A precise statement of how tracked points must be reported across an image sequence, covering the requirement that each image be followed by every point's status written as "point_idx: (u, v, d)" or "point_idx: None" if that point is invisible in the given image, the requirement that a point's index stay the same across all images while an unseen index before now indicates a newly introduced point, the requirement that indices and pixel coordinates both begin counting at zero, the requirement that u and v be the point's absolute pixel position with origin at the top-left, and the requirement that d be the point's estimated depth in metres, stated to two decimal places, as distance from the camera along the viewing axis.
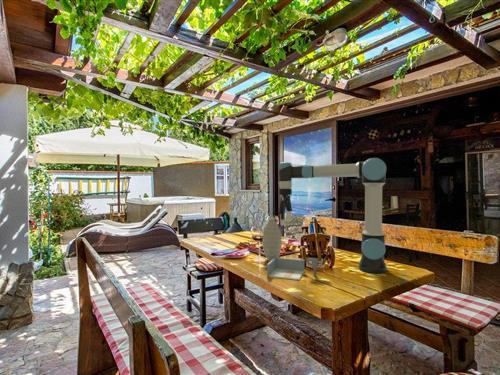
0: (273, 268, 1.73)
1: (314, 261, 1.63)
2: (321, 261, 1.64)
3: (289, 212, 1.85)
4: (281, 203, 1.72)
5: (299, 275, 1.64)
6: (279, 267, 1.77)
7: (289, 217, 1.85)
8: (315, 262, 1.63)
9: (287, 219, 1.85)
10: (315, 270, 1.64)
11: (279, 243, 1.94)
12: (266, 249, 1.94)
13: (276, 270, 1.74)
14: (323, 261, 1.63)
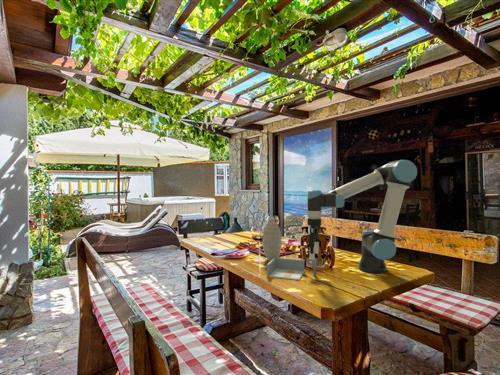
0: (273, 268, 1.73)
1: (314, 261, 1.63)
2: (321, 261, 1.64)
3: (317, 243, 1.70)
4: (311, 235, 1.57)
5: (299, 275, 1.64)
6: (279, 267, 1.77)
7: (317, 248, 1.70)
8: (315, 262, 1.63)
9: (314, 250, 1.70)
10: (315, 270, 1.64)
11: (279, 243, 1.94)
12: (266, 249, 1.94)
13: (276, 270, 1.74)
14: (323, 261, 1.63)
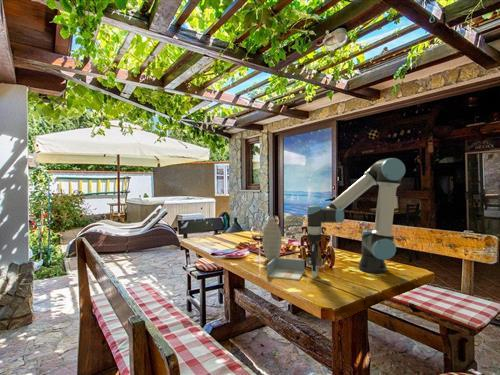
0: (273, 268, 1.73)
1: None
2: (321, 261, 1.64)
3: None
4: (312, 254, 1.59)
5: (299, 275, 1.64)
6: (279, 267, 1.77)
7: (316, 269, 1.66)
8: None
9: None
10: None
11: (279, 243, 1.94)
12: (266, 249, 1.94)
13: (276, 270, 1.74)
14: (323, 261, 1.63)
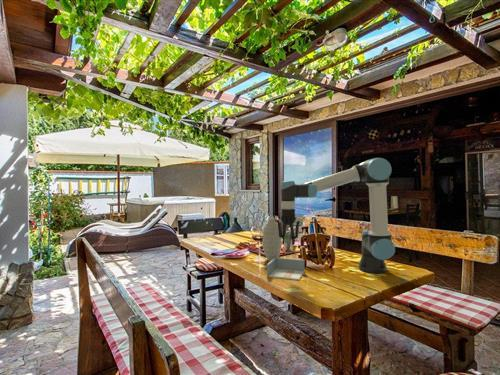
0: (273, 268, 1.73)
1: None
2: None
3: None
4: None
5: (299, 275, 1.64)
6: (279, 267, 1.77)
7: None
8: None
9: None
10: (287, 245, 1.66)
11: (279, 243, 1.94)
12: (266, 249, 1.94)
13: (276, 270, 1.74)
14: (285, 237, 1.62)
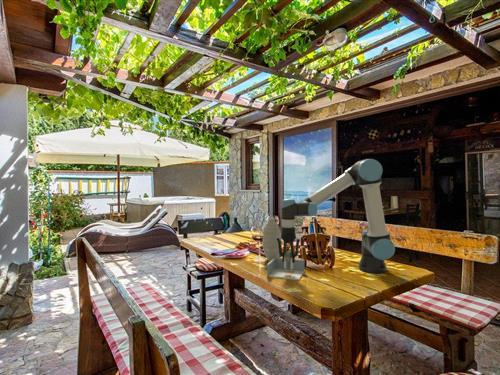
0: (273, 268, 1.73)
1: None
2: (288, 256, 1.63)
3: None
4: None
5: (299, 275, 1.64)
6: (279, 267, 1.77)
7: None
8: None
9: None
10: (287, 263, 1.67)
11: None
12: (266, 249, 1.94)
13: (276, 270, 1.74)
14: None
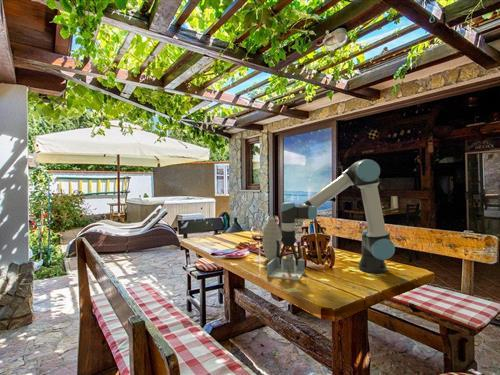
0: (273, 268, 1.73)
1: None
2: None
3: None
4: None
5: (299, 275, 1.64)
6: (279, 267, 1.77)
7: None
8: None
9: None
10: None
11: None
12: (266, 249, 1.94)
13: (276, 270, 1.74)
14: (285, 260, 1.62)
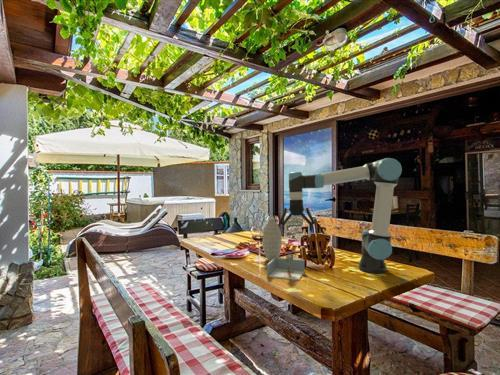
0: (273, 268, 1.73)
1: None
2: None
3: (308, 226, 1.66)
4: None
5: (299, 275, 1.64)
6: (279, 267, 1.77)
7: (308, 232, 1.67)
8: None
9: None
10: None
11: (279, 243, 1.94)
12: (266, 249, 1.94)
13: (276, 270, 1.74)
14: (285, 260, 1.62)
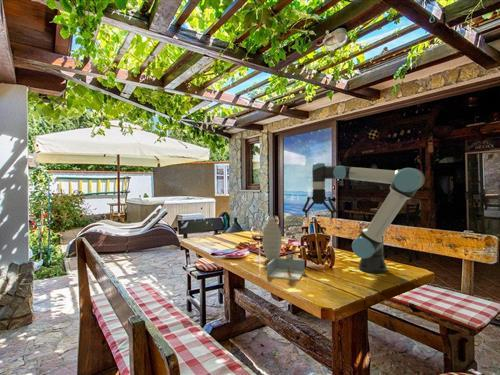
0: (273, 268, 1.73)
1: None
2: None
3: None
4: (306, 202, 1.83)
5: (299, 275, 1.64)
6: (279, 267, 1.77)
7: None
8: None
9: (330, 221, 1.79)
10: None
11: (279, 243, 1.94)
12: (266, 249, 1.94)
13: (276, 270, 1.74)
14: (285, 260, 1.63)
